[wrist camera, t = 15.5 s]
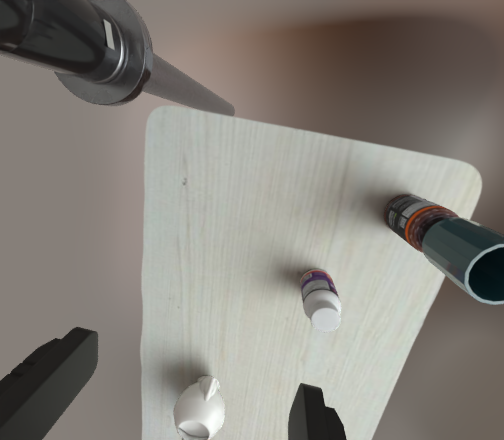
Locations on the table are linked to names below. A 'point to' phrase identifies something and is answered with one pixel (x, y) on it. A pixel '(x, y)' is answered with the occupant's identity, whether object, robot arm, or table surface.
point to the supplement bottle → (414, 218)
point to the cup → (468, 257)
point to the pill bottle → (320, 300)
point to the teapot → (200, 410)
